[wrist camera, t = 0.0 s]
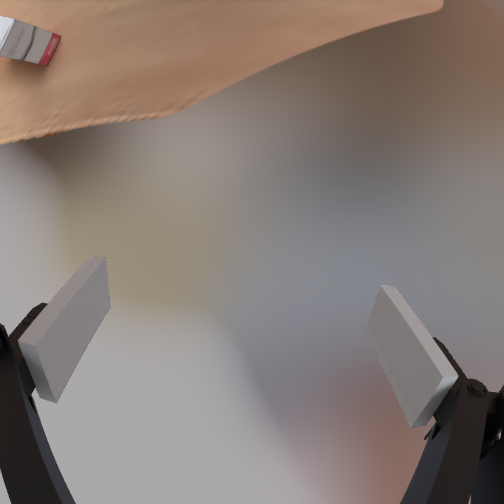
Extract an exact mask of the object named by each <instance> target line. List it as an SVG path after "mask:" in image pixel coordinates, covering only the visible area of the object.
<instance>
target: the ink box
mask: <svg viewBox="0 0 504 504" xmlns="http://www.w3.org/2000/svg"><path fill="white" fill-rule="evenodd" d="M60 37H61V36H59V35H57V34H54V33H52V32H49V31H47V30H44V29H41V28H39V27H36V26H34V25H31V24H28V23H25V22H23V21H20V20H17V19H13V18H9V17H4V16H0V56H1V57H6V58H12V59H17V60H22V61H27V62H32V63H36V64H41V65H46V66H47V65H48V63H49V61H50V59H51V57H52V55H53V52H54V50H55V48H56V46H57V44H58V42H59V40H60Z"/></svg>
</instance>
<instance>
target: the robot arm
mask: <svg viewBox="0 0 504 504" xmlns="http://www.w3.org/2000/svg"><path fill="white" fill-rule="evenodd" d="M110 307H111V306H110V297H109V288H108V277H107V264H106V257H99V256H91V257H90V258H89V259H88V260H87V261H86V262H85V263H84V265H82V267H81V268H80V269H79V270H78V271H77V272H76V273H75V274H74V275H73V276H72V278H70V280H69V281H68V282H67V283H66V284H65V285H64V286H63V287H62V288H61V290H60V291H59V292H58V293H57V294H56V295H55V296H54V298H53V299H52V300H51V301H50V302H49V303H48V304H46V303H41V304H39V305H38V306H36V307H34V308H33V309H32V310H31V311H30V312H29V313H28V314H27V316H26V317H25V318H24V319H23V320H22V321H21V323H20V324H19V325H18V326H17V327H16V328H15V330H14V331H13V332H12V333H11V334H10V336H9V337H8V335H7V332H6V329H5V327H4V326H3V325H2V324H0V469H1V473H2V476H3V480H4V483H5V486H6V489H7V492H8V495H9V498H10V501H11V504H76V503H75V501H74V499H73V497H72V495H71V494H70V491H69V489H68V487H67V485H66V483H65V481H64V479H63V477H62V474H61V472H60V470H59V468H58V465H57V463H56V461H55V458H54V456H53V453H52V451H51V448H50V446H49V443H48V441H47V438H46V435H45V432H44V430H43V427H42V425H41V421H40V418H39V415H38V412H37V409H36V406H35V402H34V399H33V397H32V395H31V394H32V392H33V391H34V389H35V387H36V390H37V392H38V394H39V397H40V398H42V399H45V400H48V401H51V402H54V403H57V402H58V400H59V398H60V396H61V394H62V392H63V390H64V388H65V386H66V385H67V383H68V381H69V379H70V377H71V375H72V373H73V371H74V369H75V368H76V366H77V364H78V362H79V360H80V358H81V356H82V355H83V353H84V351H85V350H86V348H87V346H88V344H89V343H90V341H91V339H92V337H93V336H94V334H95V332H96V331H97V329H98V327H99V325H100V324H101V322H102V320H103V319H104V317H105V315H106V314H107V312H108V310H109V308H110ZM365 332H366V334H367V336H368V338H369V340H370V342H371V344H372V346H373V348H374V350H375V352H376V354H377V356H378V358H379V360H380V362H381V365H382V367H383V369H384V371H385V373H386V375H387V377H388V379H389V381H390V383H391V386H392V388H393V390H394V392H395V394H396V396H397V399H398V401H399V403H400V405H401V407H402V410H403V412H404V414H405V416H406V418H407V421H408V423H409V425H410V428H413V427H419V426H425V425H426V424H427V423H428V422H429V420H430V419H431V417H432V416H434V418H435V420H436V423H435V424H434V426H433V427H432V428H431V430H430V431H429V432H428V433H427V435H426V436H425V438H424V440H426V439H427V438H428V437H429V438H428V441H427V443H426V446H425V449H424V451H423V454H422V457H421V459H420V461H419V464H418V466H417V468H416V471H415V473H414V475H413V477H412V480H411V482H410V484H409V486H408V489H407V491H406V493H405V495H404V497H403V499H402V501H401V503H400V504H468V502H469V499H470V495H471V504H504V386H503V387H502V388H501V390H500V391H499V393H496V392H488V390H487V388H486V387H485V385H483V384H482V383H481V382H479V381H478V380H475V379H467V377H466V376H465V374H464V373H463V372H462V370H461V368H460V367H459V366H458V364H457V363H456V361H455V360H453V357H452V355H451V354H450V353H449V351H448V350H447V349H446V347H445V346H444V344H443V343H441V342H440V341H439V340H438V339H436V338H435V337H433V338H432V337H431V335H430V334H429V333H428V332H427V330H426V328H425V327H424V326H423V324H422V323H421V322H420V320H419V319H418V318H417V316H416V315H415V313H414V312H413V311H412V309H411V308H410V307H409V306H408V304H407V303H406V302H405V300H404V299H403V298H402V296H401V295H400V294H399V293H398V291H397V290H396V289H395V287H394V286H387V285H380V287H379V291H378V294H377V297H376V300H375V303H374V306H373V309H372V311H371V314H370V317H369V320H368V323H367V326H366V328H365ZM500 432H501V438H500V439H499V436H498V434H499V433H500Z"/></svg>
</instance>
